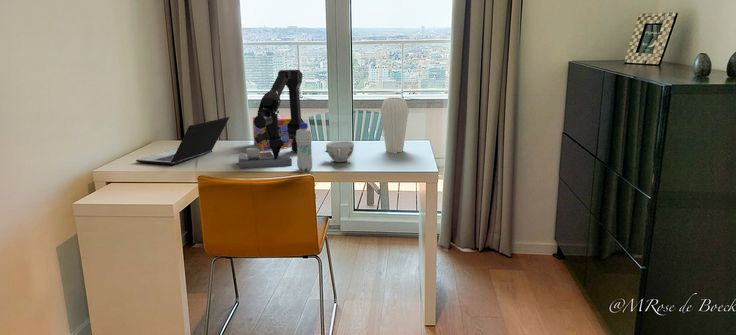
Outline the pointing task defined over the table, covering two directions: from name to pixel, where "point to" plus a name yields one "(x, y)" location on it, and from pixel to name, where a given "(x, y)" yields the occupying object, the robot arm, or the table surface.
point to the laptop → (191, 143)
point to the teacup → (340, 150)
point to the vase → (394, 123)
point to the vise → (263, 162)
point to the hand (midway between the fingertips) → (275, 159)
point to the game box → (283, 132)
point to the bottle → (304, 147)
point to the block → (252, 154)
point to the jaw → (265, 156)
